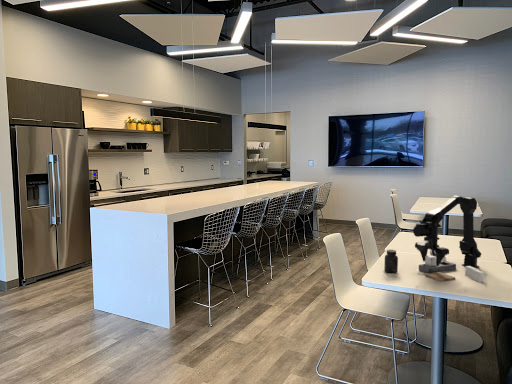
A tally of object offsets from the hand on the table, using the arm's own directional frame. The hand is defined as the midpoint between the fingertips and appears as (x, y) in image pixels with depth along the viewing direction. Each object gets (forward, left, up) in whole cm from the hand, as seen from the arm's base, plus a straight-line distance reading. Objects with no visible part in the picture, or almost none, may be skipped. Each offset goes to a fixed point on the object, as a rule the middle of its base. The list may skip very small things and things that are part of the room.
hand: (430, 263), depth 208 cm
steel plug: (0, 0, -4) cm, 4 cm away
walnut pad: (+5, +11, -4) cm, 13 cm away
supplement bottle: (+22, -6, -4) cm, 23 cm away
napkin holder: (-10, +19, -5) cm, 22 cm away
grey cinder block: (-5, 0, -4) cm, 6 cm away
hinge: (-20, -14, -4) cm, 25 cm away
